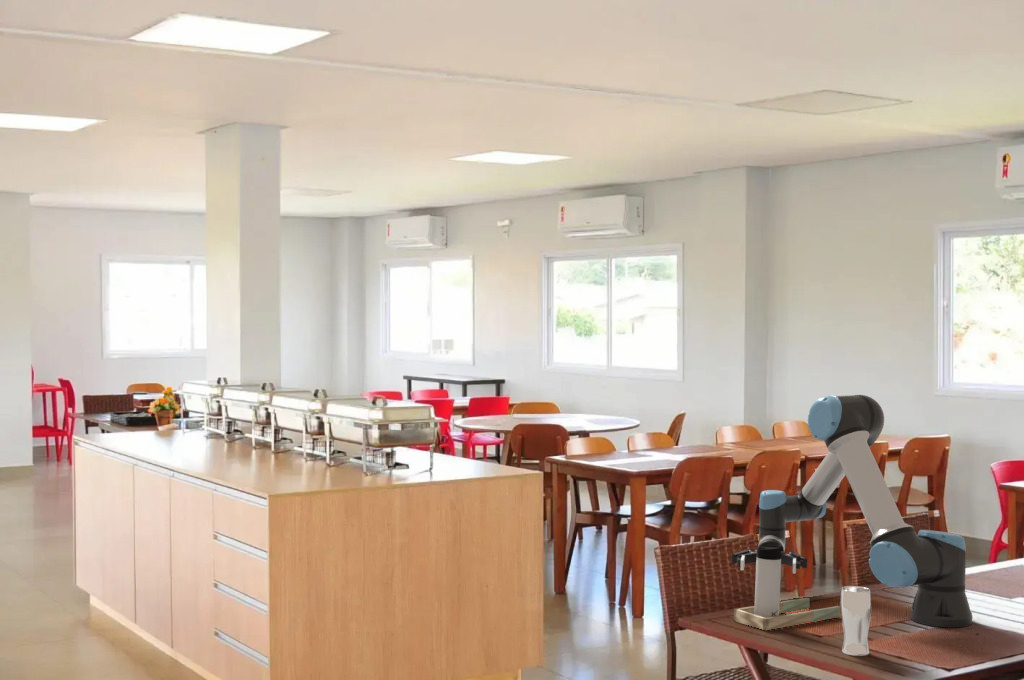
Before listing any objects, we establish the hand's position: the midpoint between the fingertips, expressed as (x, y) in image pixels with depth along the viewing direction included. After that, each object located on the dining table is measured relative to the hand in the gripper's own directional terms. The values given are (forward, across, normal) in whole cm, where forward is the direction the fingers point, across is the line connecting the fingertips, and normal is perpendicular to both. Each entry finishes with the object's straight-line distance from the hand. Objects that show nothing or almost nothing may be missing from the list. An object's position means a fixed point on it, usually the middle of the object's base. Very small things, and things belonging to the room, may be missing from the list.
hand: (767, 566), depth 309 cm
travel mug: (+10, 0, -12) cm, 16 cm away
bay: (+5, -5, -12) cm, 14 cm away
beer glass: (+33, -22, -12) cm, 41 cm away
